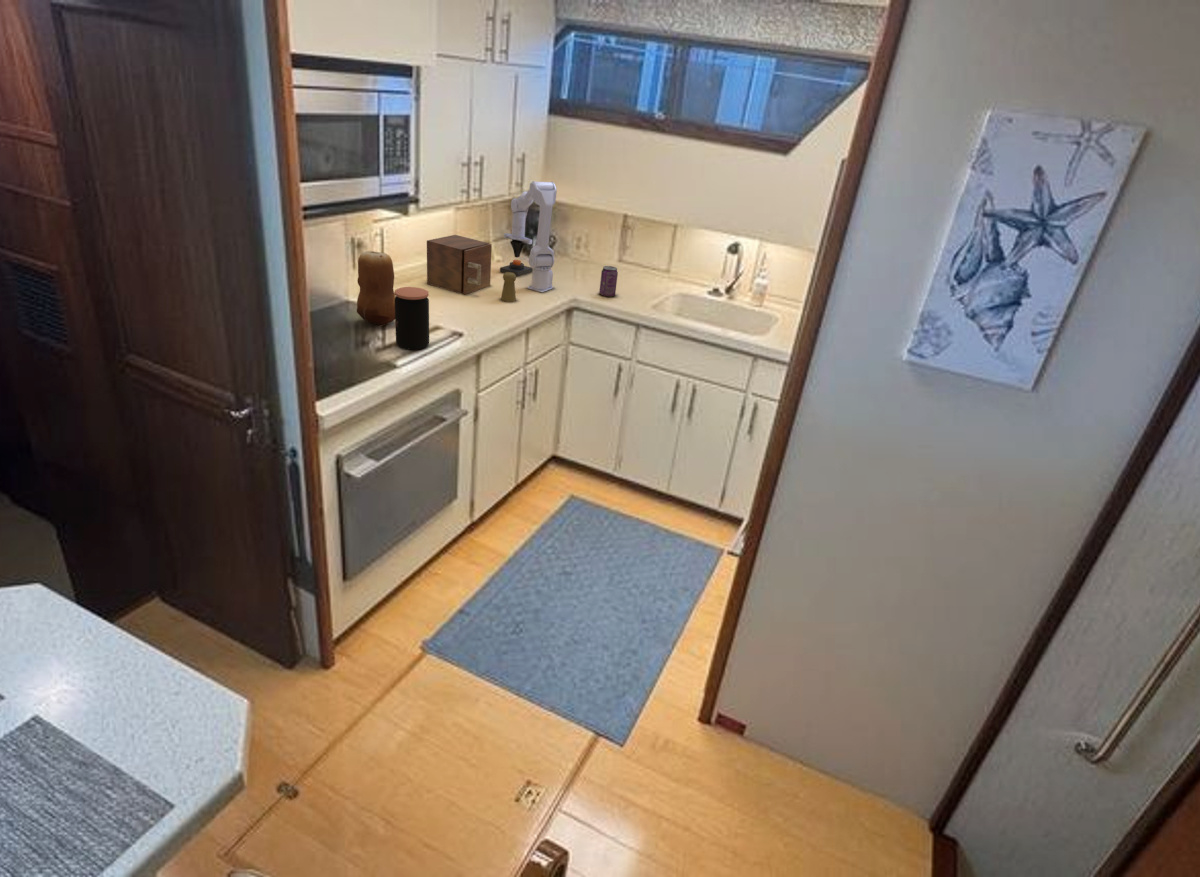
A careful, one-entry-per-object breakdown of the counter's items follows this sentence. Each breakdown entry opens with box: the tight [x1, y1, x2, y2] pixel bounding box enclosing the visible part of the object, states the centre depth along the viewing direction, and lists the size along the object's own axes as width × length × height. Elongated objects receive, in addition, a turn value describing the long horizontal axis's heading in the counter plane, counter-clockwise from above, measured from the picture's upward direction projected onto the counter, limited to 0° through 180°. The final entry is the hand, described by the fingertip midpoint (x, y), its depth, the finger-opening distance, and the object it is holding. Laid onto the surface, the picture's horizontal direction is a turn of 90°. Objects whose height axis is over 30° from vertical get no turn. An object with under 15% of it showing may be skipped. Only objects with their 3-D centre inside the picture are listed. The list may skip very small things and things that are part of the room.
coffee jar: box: [394, 286, 430, 351], centre depth 224 cm, size 11×11×18 cm
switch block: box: [499, 261, 532, 278], centre depth 319 cm, size 12×10×4 cm
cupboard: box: [426, 234, 490, 294], centre depth 288 cm, size 18×18×18 cm
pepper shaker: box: [500, 272, 517, 303], centre depth 279 cm, size 6×6×11 cm
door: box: [462, 243, 493, 295], centre depth 284 cm, size 7×18×18 cm, turn 154°
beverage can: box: [598, 265, 619, 297], centre depth 300 cm, size 7×7×12 cm
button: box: [512, 259, 522, 265], centre depth 317 cm, size 4×4×2 cm
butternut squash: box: [356, 250, 396, 326], centre depth 236 cm, size 14×13×25 cm
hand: (517, 256), depth 316 cm, fingers closed
